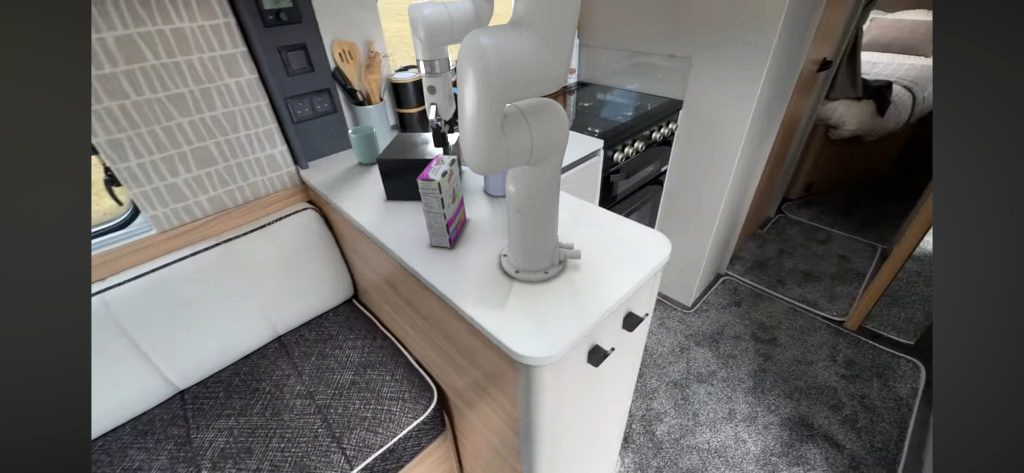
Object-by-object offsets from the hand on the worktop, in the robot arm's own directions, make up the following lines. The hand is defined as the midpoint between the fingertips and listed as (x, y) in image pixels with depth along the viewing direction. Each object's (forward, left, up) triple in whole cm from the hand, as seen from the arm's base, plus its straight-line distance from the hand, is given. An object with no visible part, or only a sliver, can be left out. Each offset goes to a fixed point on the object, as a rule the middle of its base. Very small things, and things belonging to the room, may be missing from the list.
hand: (444, 140), depth 94 cm
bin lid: (+6, 0, -2) cm, 7 cm away
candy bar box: (-4, +22, -13) cm, 26 cm away
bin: (+7, 0, -13) cm, 15 cm away
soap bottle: (-14, +2, -13) cm, 19 cm away
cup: (+29, -15, -13) cm, 35 cm away
